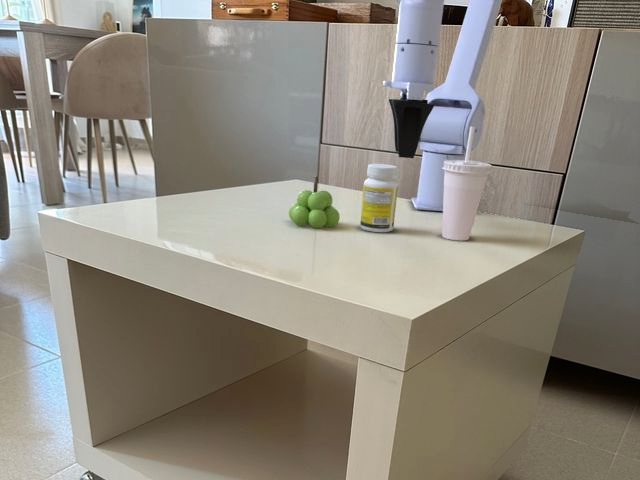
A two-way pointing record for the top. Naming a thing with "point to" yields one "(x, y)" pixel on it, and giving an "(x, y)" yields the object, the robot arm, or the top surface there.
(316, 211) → the grapes
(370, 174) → the supplement bottle
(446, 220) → the smoothie
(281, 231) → the top surface
